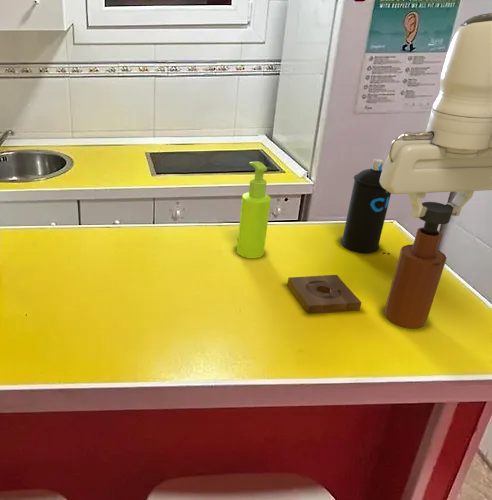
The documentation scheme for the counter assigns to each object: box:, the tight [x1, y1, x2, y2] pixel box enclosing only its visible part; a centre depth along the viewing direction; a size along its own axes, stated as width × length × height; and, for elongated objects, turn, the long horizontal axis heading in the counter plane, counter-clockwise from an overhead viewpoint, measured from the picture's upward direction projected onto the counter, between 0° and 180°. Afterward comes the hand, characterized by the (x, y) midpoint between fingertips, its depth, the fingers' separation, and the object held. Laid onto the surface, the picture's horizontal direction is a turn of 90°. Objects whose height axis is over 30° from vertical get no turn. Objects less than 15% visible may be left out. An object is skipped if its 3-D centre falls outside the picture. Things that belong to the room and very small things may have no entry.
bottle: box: [383, 227, 448, 329], centre depth 89 cm, size 7×7×17 cm
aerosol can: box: [340, 158, 392, 254], centre depth 114 cm, size 8×8×20 cm
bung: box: [419, 201, 453, 232], centre depth 84 cm, size 5×5×4 cm
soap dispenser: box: [236, 160, 272, 259], centre depth 111 cm, size 6×7×20 cm
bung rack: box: [286, 274, 362, 315], centre depth 98 cm, size 10×10×2 cm
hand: (434, 215), depth 84 cm, fingers closed on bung, 4 cm apart
